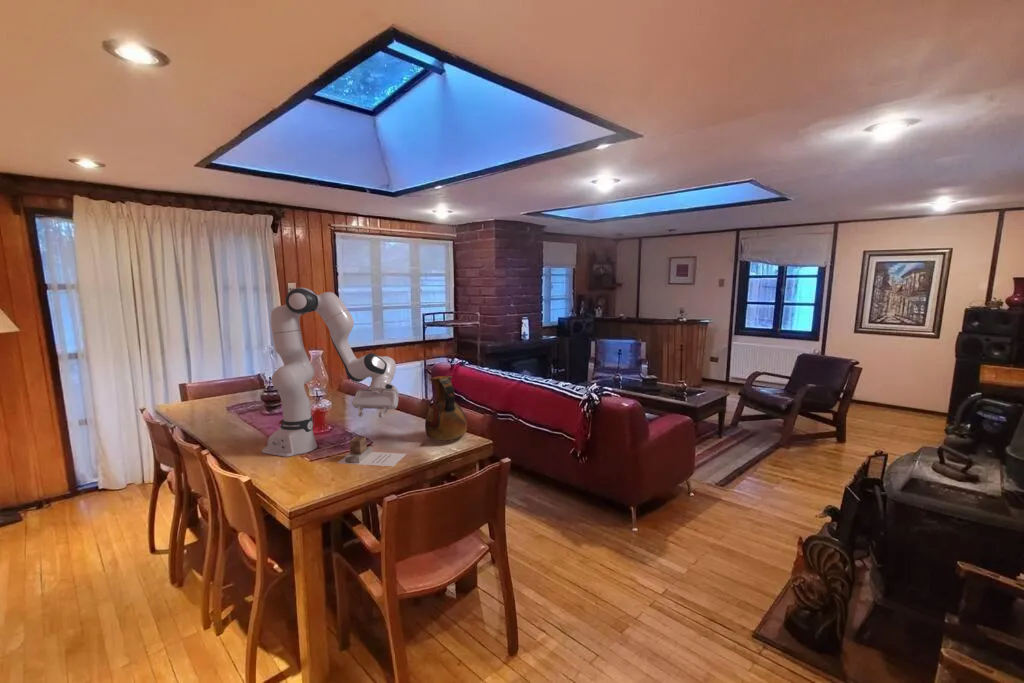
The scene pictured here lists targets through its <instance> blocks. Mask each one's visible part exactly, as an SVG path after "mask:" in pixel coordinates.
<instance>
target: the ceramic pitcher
mask: <svg viewBox="0 0 1024 683" xmlns="http://www.w3.org/2000/svg"><path fill="white" fill-rule="evenodd" d="M452 378H453V376H452V375H441V376H440V375H439V376H434V377H432V378H429V380H430V381H431V382H432V384H434V387H435V391H436V400H435V402H434V403H433V404H432V405H431V406H430V408H429V410H428V411H427V414H426V416H425V420H424V421H425V422H424V429H425V434H426V436H427V438H429V439H431V440H436V441H451V440H459V439H461V438H463V437H464V436H465V434H466V433H467V431H468V420H467V416H466V414H465V411H464V410H463V408H462V407H461V406H460V405H459V403H457V402H456V401H455V395H456V394H455V389H454V386H453V383H452V381H451V379H452Z"/></svg>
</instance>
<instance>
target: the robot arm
mask: <svg viewBox="0 0 1024 683" xmlns="http://www.w3.org/2000/svg"><path fill="white" fill-rule="evenodd" d="M284 302H285V304H283V305H279V306H276V307H274V308H273V309H272V311H270V312H271V314H270V320H271V321H270V327H271V332H272V339H273V340H272V341H273V344H274V350H275V352H276V353H277V354H278V355H279V357H280V358H281V360H282V362H283V365H282V366H281V367H279V368H277V370H275V372H274V373H273V374H272V376H271V384H272V386H273V387H274V389H276V391H277V392H278V395H279V397H280V400H281V401H280V402H281V405H282V416H283V419H281V420H280V421H278V422H277V423H278V425H280V424H281V425H280V428H278V429H276V431H274V432H273V433H272V434H270V436H269V437H268V439H267V445H266V446H264V447H263V448H262V450H261V453H262V454H265V455H266V454H268V455H274V456H278V457H284V458H287V457H291V456H296V455H301V454H307V453H309V452H311V451H314V450H315V449H317V448H318V444H317V441H316V438H315V435H314V434H315V433H314V431H313V430H314V426H313V425H314V422H313V421H314V420H313V415H312V406H311V398H309V396H308V395H307V393H306V388H305V385H306V384H307V383H309V382H310V381H311V380H312V379H313V377H314V376H315V374H316V370H315V366H314V364H313V362H311V361H310V359H309V357H308V354H307V352H306V349H305V345H304V340H303V334H302V329H301V325H300V323H301V322H300V318H301V316H302V315H305V314H309V313H310V312H311V313H313V312H316V313H317V314H318V315H319V316H320V317H321V319H322V320H323V322H324V324H325V325H326V326H327V329H328V330H329V334H330V341H331V343H332V344H333V347H334V348H335V351H336V353H337V354H338V356H339V359H340V361H341V362H342V364H343V368H344V370H345V373H346V376H347V377H348V378H349V380H351V381H353V382H355V383H359V382H363V381H364V380H366V379H367V378H371V382H370V384H369V388H360V389H357V391H356V393H355V395H354V396H353V398H352V401H351V405H352V406H353V407H354V408H355V409H358V413H357V415H358V417H360V418H362V417H364V412H363V410H364V409H373V410H375V409H376V410H382V411H381V412H379V413H378V417H379V419H380V418H382V419H383V418H384V416H385V414H386V413H387V412H388V410H395V409H397V407H398V405H399V395H400V392H399V391H398V388H397V387H396V386H395V385H393V384H392V381H393V380H394V378H395V377H394V376H395V374H396V370H397V369H396V368H397V367H396V366H397V365H396V361H395V359H394V358H391V357H390V356H387V355H384V356H380V355H378V354H376V353H374V352H373V353H372V352H371V353H370V352H369V353H367V354H365V355H362V356H361V357H359V358H357V357H356V356H355V354H354V351H353V350H352V347H351V346H350V344H349V341H348V340H349V339H348V338H349V336H350V334H351V332H352V330H353V328H354V325H355V324H354V323H355V321H354V319H353V315H352V314H351V312H350V311H349V309H348V307H347V306H346V305H345V304H344V302H343V301H342V300H341V299H340V298H339V297H338V296H337V295H336V293H334V292H332V291H325V292H322V293H320V294H317V293H316V292H315V291H313V289H311V288H308V287H297V288H296V287H295V288H293V289H291V290H289V292H288V293H287V294H286V297H285V300H284Z"/></svg>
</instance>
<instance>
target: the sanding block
mask: <svg viewBox="0 0 1024 683" xmlns="http://www.w3.org/2000/svg"><path fill="white" fill-rule="evenodd" d="M372 448H373V447H372V446H367V437H366V436H355V437H353V438H352V439H350V440H349V449H350V450H349V451H350V452H349V453H348V454H346V455H345V456H344V457H345V462H347V463H360V462H361V461H363V460H364V459H365V458H366V457H367V456H369V455H370V454H371V453H372V452H373V449H372Z"/></svg>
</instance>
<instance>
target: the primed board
mask: <svg viewBox="0 0 1024 683" xmlns="http://www.w3.org/2000/svg"><path fill="white" fill-rule="evenodd" d="M405 456H407V453H397V452H380V451H379V452H378V451H372V453H371V454H370V455H369V456H367V457H366V458H365V459H364V460H363V461H361V462H360V463H347V462H345V456H344V457H343V458H341V459H339V461H337V464H346V465H361V466H362V465H365V466H377V467H378V466H380V467H381V466H382V467H395V466H396V465H397V464H398V463H399V462H401V460H402V459H403V458H404V457H405Z"/></svg>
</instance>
